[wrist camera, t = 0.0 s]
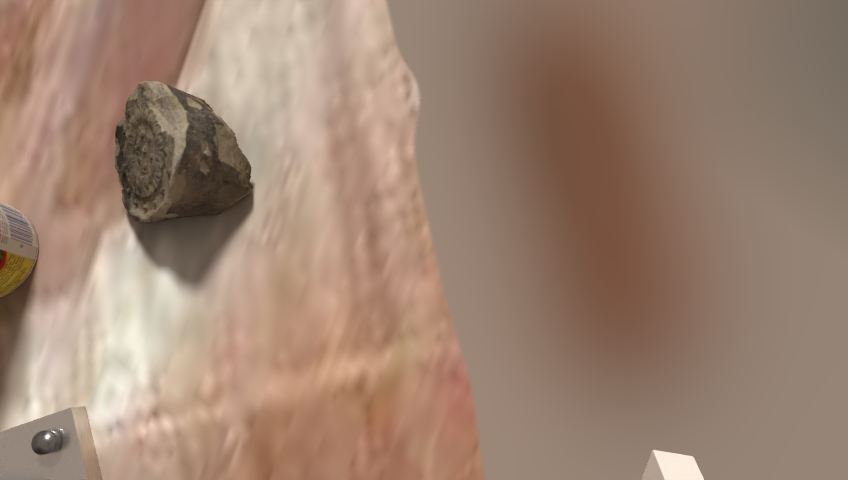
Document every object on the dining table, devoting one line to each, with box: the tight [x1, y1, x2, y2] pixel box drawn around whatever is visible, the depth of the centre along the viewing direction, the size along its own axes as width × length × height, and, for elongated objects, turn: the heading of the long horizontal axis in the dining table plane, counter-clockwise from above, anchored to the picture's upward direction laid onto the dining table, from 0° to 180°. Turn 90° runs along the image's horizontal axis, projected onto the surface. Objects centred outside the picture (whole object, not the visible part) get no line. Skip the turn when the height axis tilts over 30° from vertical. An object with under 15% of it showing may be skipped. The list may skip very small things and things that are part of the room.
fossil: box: [115, 80, 252, 223], centre depth 48 cm, size 11×9×10 cm
